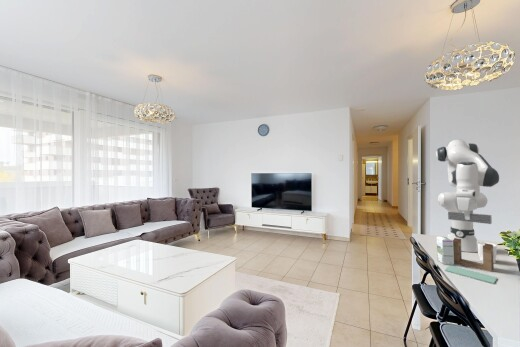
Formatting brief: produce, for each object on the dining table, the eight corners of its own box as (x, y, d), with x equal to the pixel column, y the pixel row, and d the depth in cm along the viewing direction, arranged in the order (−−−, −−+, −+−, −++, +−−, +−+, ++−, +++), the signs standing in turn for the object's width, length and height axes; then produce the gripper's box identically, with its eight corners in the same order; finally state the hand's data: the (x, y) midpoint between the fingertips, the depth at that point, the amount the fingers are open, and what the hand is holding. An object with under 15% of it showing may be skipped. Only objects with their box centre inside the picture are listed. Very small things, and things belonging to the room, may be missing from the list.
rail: (450, 218, 120) (449, 211, 120) (491, 223, 107) (491, 215, 107) (448, 219, 118) (448, 212, 119) (490, 224, 105) (490, 215, 106)
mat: (449, 266, 121) (449, 265, 121) (497, 278, 107) (497, 277, 107) (444, 270, 116) (444, 269, 116) (493, 284, 102) (493, 282, 102)
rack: (455, 259, 131) (454, 237, 131) (493, 268, 118) (493, 244, 118) (451, 262, 127) (451, 240, 127) (491, 271, 114) (490, 247, 114)
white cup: (493, 264, 122) (492, 247, 123) (474, 259, 130) (474, 243, 130) (499, 262, 126) (499, 245, 126) (481, 257, 133) (481, 241, 133)
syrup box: (454, 265, 123) (454, 239, 123) (442, 264, 124) (442, 239, 124) (448, 261, 129) (447, 236, 129) (436, 260, 130) (436, 236, 130)
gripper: (464, 191, 122) (465, 216, 122) (454, 193, 110) (455, 220, 110) (480, 192, 117) (481, 217, 116) (471, 193, 105) (472, 222, 104)
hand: (468, 219), depth 113 cm, fingers closed on rail, 3 cm apart
